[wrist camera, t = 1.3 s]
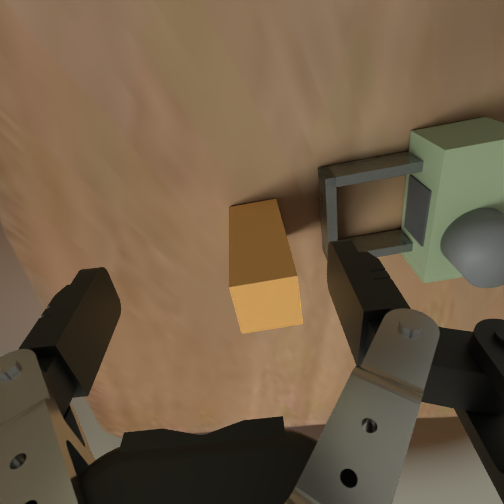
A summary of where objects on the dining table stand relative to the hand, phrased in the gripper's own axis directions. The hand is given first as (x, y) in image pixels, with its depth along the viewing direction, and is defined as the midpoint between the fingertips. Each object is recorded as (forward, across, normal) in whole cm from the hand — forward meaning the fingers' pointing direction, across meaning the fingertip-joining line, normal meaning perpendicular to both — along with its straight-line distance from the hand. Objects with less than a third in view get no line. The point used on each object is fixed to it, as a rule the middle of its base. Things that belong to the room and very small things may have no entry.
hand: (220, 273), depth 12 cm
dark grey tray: (+22, +14, -9) cm, 28 cm away
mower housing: (+22, +21, -9) cm, 32 cm away
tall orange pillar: (+22, +2, -10) cm, 24 cm away
